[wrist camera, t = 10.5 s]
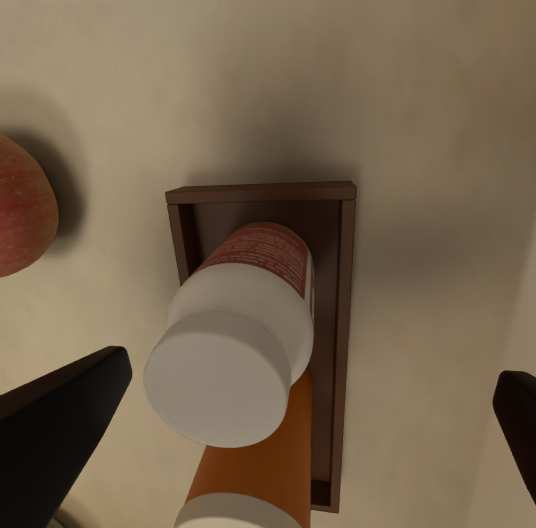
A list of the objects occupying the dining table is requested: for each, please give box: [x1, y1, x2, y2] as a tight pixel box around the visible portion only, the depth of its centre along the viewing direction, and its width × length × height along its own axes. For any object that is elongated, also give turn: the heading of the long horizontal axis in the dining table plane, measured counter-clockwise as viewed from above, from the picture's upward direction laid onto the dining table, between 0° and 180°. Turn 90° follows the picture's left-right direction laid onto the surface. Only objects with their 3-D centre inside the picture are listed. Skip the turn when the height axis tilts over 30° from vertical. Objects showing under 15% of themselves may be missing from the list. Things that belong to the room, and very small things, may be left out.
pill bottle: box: [144, 222, 314, 448], centre depth 14 cm, size 6×6×11 cm
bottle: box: [173, 367, 312, 528], centre depth 18 cm, size 6×6×11 cm
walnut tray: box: [165, 181, 357, 513], centre depth 22 cm, size 26×10×3 cm, turn 3°
